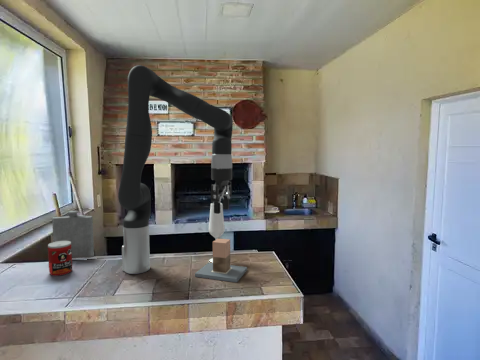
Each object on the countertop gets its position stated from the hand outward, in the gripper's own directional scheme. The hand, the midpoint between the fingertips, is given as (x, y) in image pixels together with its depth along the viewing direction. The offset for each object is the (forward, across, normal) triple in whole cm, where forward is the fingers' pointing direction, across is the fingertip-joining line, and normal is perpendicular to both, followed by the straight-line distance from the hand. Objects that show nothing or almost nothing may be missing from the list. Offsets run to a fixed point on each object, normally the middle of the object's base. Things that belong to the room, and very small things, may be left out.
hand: (221, 211), depth 116 cm
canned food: (+24, +18, -58) cm, 65 cm away
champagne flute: (+24, -12, -7) cm, 27 cm away
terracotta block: (+16, 0, 0) cm, 17 cm away
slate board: (+23, 0, 0) cm, 23 cm away
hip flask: (+24, +3, -67) cm, 71 cm away
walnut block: (+22, 0, 0) cm, 22 cm away
